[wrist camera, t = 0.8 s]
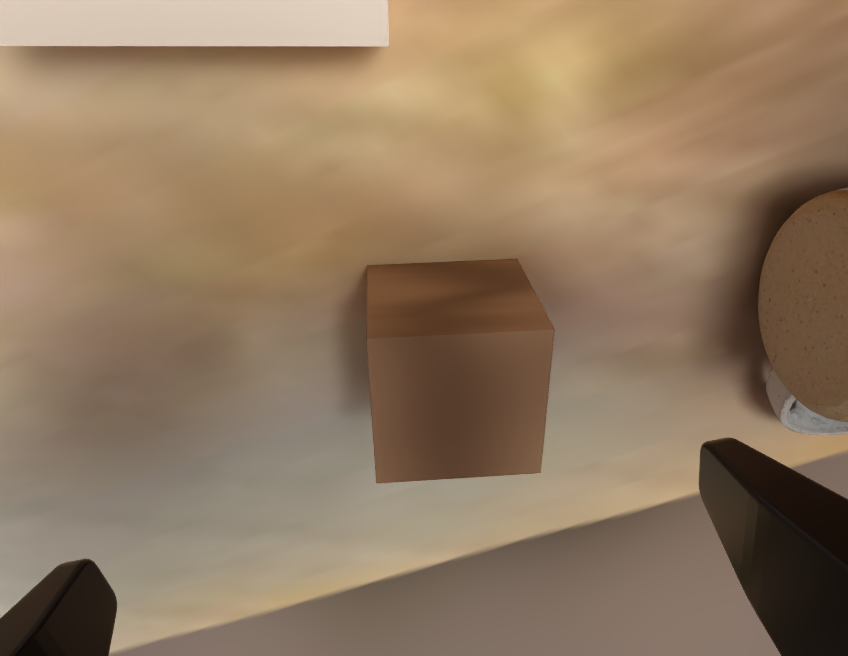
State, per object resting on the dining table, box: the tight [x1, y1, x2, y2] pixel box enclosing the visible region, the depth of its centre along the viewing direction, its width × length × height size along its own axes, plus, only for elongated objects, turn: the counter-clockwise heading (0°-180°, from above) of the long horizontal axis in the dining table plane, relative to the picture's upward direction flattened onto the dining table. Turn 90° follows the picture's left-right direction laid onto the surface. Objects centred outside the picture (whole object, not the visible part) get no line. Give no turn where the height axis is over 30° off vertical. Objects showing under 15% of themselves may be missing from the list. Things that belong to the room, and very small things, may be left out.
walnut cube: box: [366, 259, 554, 483], centre depth 20 cm, size 5×5×5 cm
